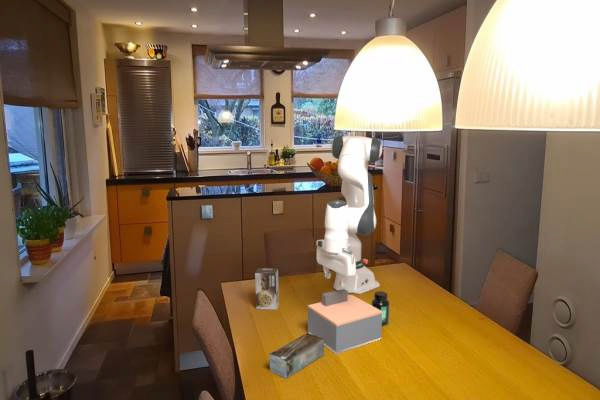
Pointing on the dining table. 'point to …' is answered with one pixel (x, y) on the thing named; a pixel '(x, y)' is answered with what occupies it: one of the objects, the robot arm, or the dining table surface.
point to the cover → (343, 308)
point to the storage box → (345, 332)
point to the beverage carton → (296, 355)
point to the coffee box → (267, 288)
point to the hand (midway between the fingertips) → (335, 281)
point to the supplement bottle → (382, 305)
